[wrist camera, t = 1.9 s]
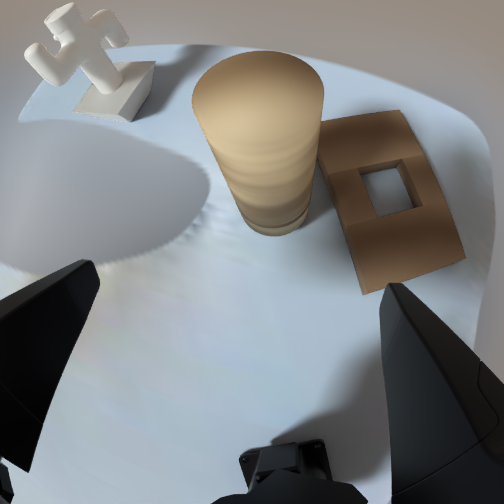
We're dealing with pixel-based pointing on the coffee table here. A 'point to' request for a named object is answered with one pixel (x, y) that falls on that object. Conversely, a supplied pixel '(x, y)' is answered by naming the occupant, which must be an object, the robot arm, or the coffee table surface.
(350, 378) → the coffee table surface
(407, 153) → the walnut board
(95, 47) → the figurine
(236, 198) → the oak peg
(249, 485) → the robot arm
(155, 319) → the coffee table surface
